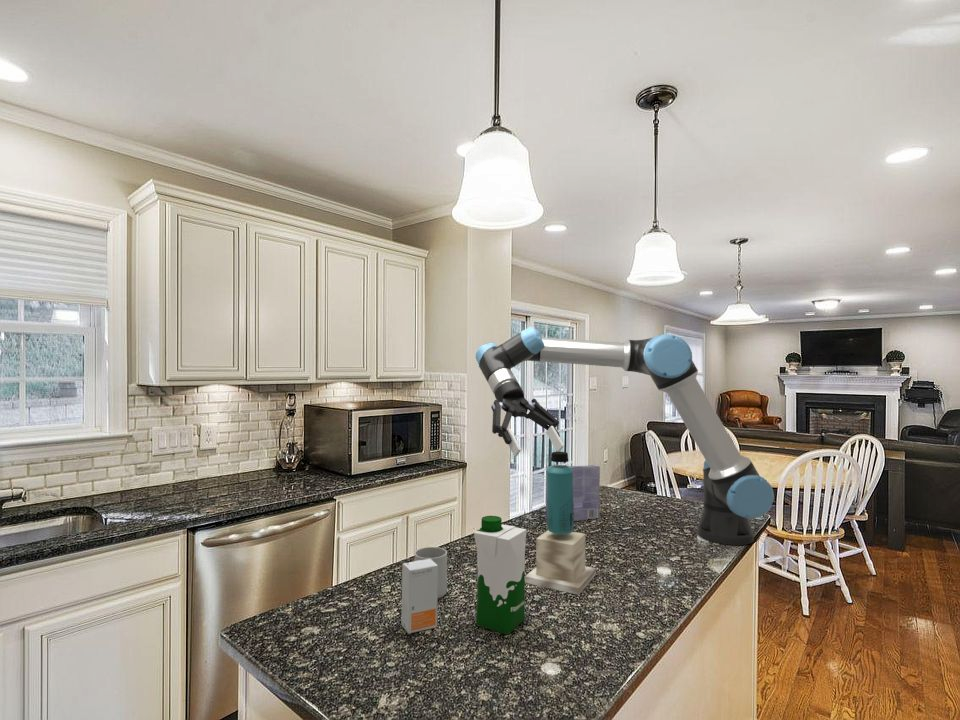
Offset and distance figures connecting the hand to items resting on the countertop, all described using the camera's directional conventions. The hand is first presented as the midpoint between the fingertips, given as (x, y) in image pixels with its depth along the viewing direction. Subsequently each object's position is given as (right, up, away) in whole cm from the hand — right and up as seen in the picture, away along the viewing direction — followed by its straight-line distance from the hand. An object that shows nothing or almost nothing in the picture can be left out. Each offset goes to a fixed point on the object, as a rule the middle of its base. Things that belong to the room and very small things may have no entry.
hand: (540, 451), depth 129 cm
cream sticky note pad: (+4, -29, -7) cm, 30 cm away
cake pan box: (+16, -30, +41) cm, 54 cm away
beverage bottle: (+4, -19, -7) cm, 21 cm away
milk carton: (-11, -29, -28) cm, 42 cm away
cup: (-27, -29, -16) cm, 43 cm away
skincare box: (-27, -29, -30) cm, 49 cm away
